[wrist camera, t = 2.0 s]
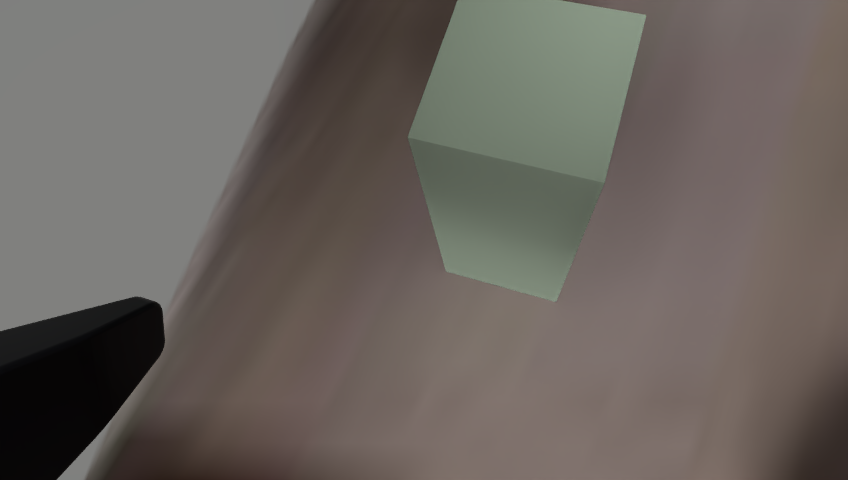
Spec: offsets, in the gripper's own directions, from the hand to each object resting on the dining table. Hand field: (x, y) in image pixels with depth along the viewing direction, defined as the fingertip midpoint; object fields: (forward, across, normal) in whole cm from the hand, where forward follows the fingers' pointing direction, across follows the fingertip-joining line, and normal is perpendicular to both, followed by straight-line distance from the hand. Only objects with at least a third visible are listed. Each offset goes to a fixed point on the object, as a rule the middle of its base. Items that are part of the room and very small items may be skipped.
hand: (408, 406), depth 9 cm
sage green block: (+15, 0, +4) cm, 16 cm away
